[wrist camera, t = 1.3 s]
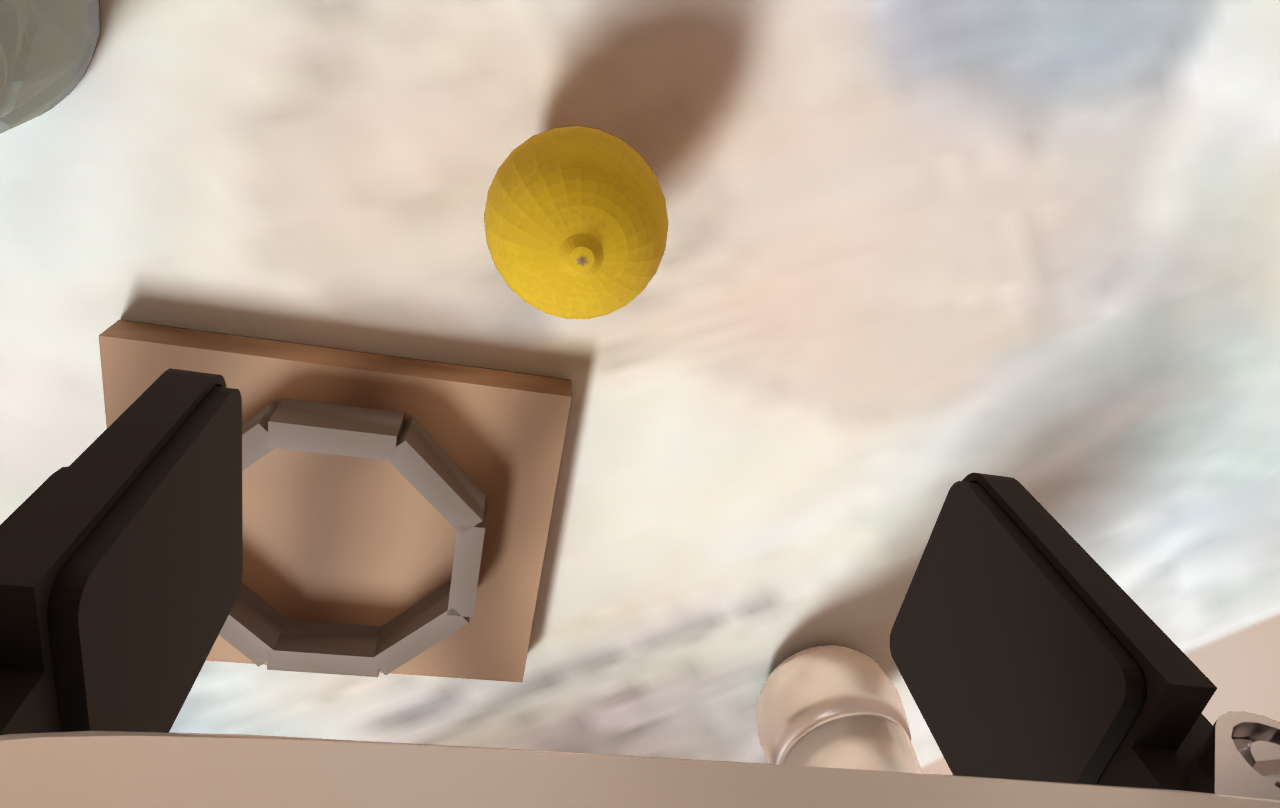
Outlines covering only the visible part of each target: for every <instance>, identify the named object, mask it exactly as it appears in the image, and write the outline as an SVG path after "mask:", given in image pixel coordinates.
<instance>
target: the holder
mask: <svg viewBox="0 0 1280 808" xmlns="http://www.w3.org/2000/svg"><path fill="white" fill-rule="evenodd" d="M99 344H100V355H101V367H102V378H103V390H104V401H105V412H106V424H107V428H108V427H109V426H110V425H111V424H112V423H113V422H114V421H115V420H116V419H117V418H118V417H119V416H120V415H121V414H122V413H123V412H124V411H125V410H126V409H127V408H128V407H129V406H130V405H131V404H132V403H133V402H135V401H136V400H137V399H138V398H139V397H140V396H141V395H142V394H143V393H144V392H145V391H146V390H147V389H148V388H149V387H150V386H151V385H152V384H153V383H154V382H155V381H156V380H157V379H158V378H159V377H160V376H161V375H162V374H163V373H164V372H165V371H166V370H168V369H169V368H172V369H179V370H187V371H195V372H202V373H210V374H218V375H222V376H223V377H224V379H225V382H226V387H227V388H234V389H239V391H240V393H241V397H242V539H243V571H242V581H241V586H240V590H239V593H238V597H237V599H236V601H235V604H234V606H233V608H232V610H231V611H230V613H229V615H228V617H227V619H226V621H225V623H224V625H223V627H222V629H221V631H220V633H219V635H218V637H217V639H216V641H215V643H214V645H213V647H212V649H211V651H210V653H209V655H208V657H207V659H206V660H208V661H222V662H236V663H251V664H256V665H258V666H260V665H262V664H265V665H267V670H282V671H297V672H311V673H326V674H340V675H355V676H370V677H378V675H379V672H380V673H384V674H385V675H387V674H389V673H395V674H409V675H424V676H438V677H452V678H467V679H481V680H496V681H510V682H522V681H523V675H524V669H525V664H526V658H527V652H528V646H529V641H530V635H531V629H532V623H533V618H534V612H535V606H536V600H537V594H538V589H539V583H540V577H541V571H542V566H543V560H544V554H545V548H546V543H547V537H548V531H549V525H550V520H551V514H552V508H553V502H554V497H555V491H556V485H557V479H558V474H559V468H560V462H561V456H562V451H563V445H564V439H565V433H566V427H567V422H568V416H569V410H570V404H571V399H572V392H571V380H567V379H559V378H552V377H544V376H537V375H529V374H522V373H514V372H507V371H499V370H492V369H484V368H477V367H469V366H462V365H454V364H447V363H439V362H432V361H424V360H417V359H409V358H401V357H394V356H386V355H379V354H371V353H364V352H356V351H349V350H341V349H334V348H326V347H319V346H311V345H304V344H296V343H289V342H281V341H274V340H266V339H259V338H251V337H244V336H236V335H229V334H221V333H214V332H206V331H199V330H191V329H183V328H176V327H168V326H161V325H153V324H146V323H138V322H131V321H123V320H118V321H117V322H116V323H115V324H113V325H112V326H111V327H109V328H108V329H107V330H105V331H104V332H103V333H102V334H100V335H99Z"/></svg>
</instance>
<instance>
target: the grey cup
mask: <svg viewBox="0 0 1280 808" xmlns="http://www.w3.org/2000/svg"><path fill="white" fill-rule="evenodd" d="M99 36H100V15H99V0H0V133H2V132H5V131H7V130H9V129H11V128H13V127H16V126H18V125H20V124H22V123H24V122H26V121H29V120H31V119H33V118H35V117H37V116H40V115H42V114H43V113H45V112H47V111H49V110H50V109H52V108H53V107H54V106H56V105H57V104H58V103H59V102H61V101H62V100H63V99H64V98H65V97H66V96H67V95H68V94H69V93H70V92H71V91H72V90H73V89H74V87H75V86H76V85H77V84H78V82H79V81H80V80H81V79H82V77H83V75H84V73H85V71H86V69H87V68H88V66H89V64H90V62H91V59H92V56H93V53H94V50H95V47H96V44H97V41H98V39H99Z"/></svg>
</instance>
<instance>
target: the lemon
mask: <svg viewBox="0 0 1280 808" xmlns="http://www.w3.org/2000/svg"><path fill="white" fill-rule="evenodd" d="M484 222H485V231H486V241H487V245H488V248H489V250H490V253H491V256H492V259H493V261H494V264H495V266H496V268H497V270H498V271H499V273H500V274H501V276H502V277H503V279H504V280H505V281H506V283H507V284H508V286H509V287H510V288H511V289H512V290H513V291H514V292H515V293H516V294H517V295H519V296H520V297H521V298H522V299H523V300H524V301H525V302H527V303H528V304H530V305H532V306H534V307H536V308H537V309H539V310H541V311H543V312H545V313H547V314H551V315H555V316H558V317H562V318H566V319H590V318H594V317H598V316H602V315H607V314H609V313H611V312H613V311H615V310H617V309H619V308H621V307H623V306H625V305H627V304H628V303H629V302H630V301H632V300H633V299H634V298H635V297H636V296H637V295H639V294H640V293H641V292H642V291H643V290H644V289H645V287H646V286H647V284H648V283H649V282H650V280H651V279H652V277H653V276H654V275H655V273H656V271H657V269H658V266H659V264H660V261H661V259H662V256H663V254H664V251H665V247H666V239H667V231H668V218H667V210H666V202H665V198H664V195H663V192H662V190H661V187H660V185H659V182H658V180H657V177H656V175H655V174H654V172H653V171H652V169H651V168H650V167H649V165H648V164H647V163H646V161H645V160H644V159H643V157H642V156H641V155H640V154H639V153H638V152H637V151H635V150H634V149H633V148H632V147H630V146H629V145H628V144H627V143H625V142H624V141H623V140H622V139H619V138H617V137H615V136H613V135H611V134H608V133H606V132H604V131H602V130H600V129H593V128H587V127H581V126H570V127H560V128H553V129H551V130H548V131H545V132H543V133H540V134H537V135H534V136H532V137H531V138H530V139H528V140H527V141H525V142H524V143H523V144H521V145H520V146H518V147H517V148H516V149H514V150H513V151H512V152H511V154H510V155H509V156H508V157H507V159H506V160H505V161H504V162H503V164H502V165H501V166H500V167H499V169H498V171H497V173H496V175H495V177H494V180H493V182H492V184H491V186H490V189H489V191H488V195H487V201H486V208H485V214H484Z"/></svg>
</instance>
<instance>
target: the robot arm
mask: <svg viewBox="0 0 1280 808" xmlns="http://www.w3.org/2000/svg"><path fill="white" fill-rule="evenodd" d="M242 571H243V539H242V397H241V393H240V391H239V389H234V388H227V387H226V382H225V379H224V377H223V376H222V375H218V374H210V373H202V372H195V371H187V370H179V369H172V368H169V369H168V370H166V371H165V372H164V373H163V374H162V375H161V376H160V377H159V378H158V379H157V380H156V381H155V382H154V383H153V384H152V385H151V386H150V387H149V388H148V389H147V390H146V391H145V392H144V393H143V394H142V395H141V396H140V397H139V398H138V399H137V400H136V401H135V402H133V403H132V404H131V405H130V406H129V407H128V408H127V409H126V410H125V411H124V412H123V413H122V414H121V415H120V416H119V417H118V418H117V419H116V420H115V421H114V422H113V423H112V424H111V425H110V426H109V427H108V428H107V429H106V430H105V431H104V432H103V433H102V434H101V435H100V436H99V437H98V438H97V439H96V440H95V441H94V442H93V443H92V444H91V445H90V446H89V447H88V448H87V449H86V450H85V451H84V452H83V453H82V454H81V455H80V456H79V457H78V458H77V459H76V460H75V461H74V462H73V463H72V464H71V465H70V466H69V467H62V468H61V469H59V470H58V471H56V472H55V473H54V474H52V475H51V476H50V477H49V478H48V479H47V480H46V481H45V482H44V483H43V484H42V485H41V486H40V487H39V488H38V489H37V490H36V491H35V492H34V493H33V494H32V495H31V496H30V497H29V498H28V499H27V500H26V501H25V502H24V503H23V504H21V505H20V506H19V507H18V508H17V509H16V510H15V511H14V512H13V513H12V514H11V515H10V516H9V517H8V518H7V519H6V520H5V521H4V522H3V523H2V524H1V525H0V808H1280V722H1277V721H1275V720H1272V719H1270V718H1267V717H1265V716H1261V715H1257V714H1252V713H1248V712H1228V713H1225V714H1223V715H1221V716H1219V717H1218V719H1217V721H1216V722H1215V723H1214V725H1213V726H1212V724H1211V723H1210V722H1209V721H1208V720H1207V719H1206V718H1205V717H1204V716H1203V715H1202V711H1203V709H1204V708H1205V706H1206V705H1207V703H1208V702H1209V700H1210V698H1211V697H1212V695H1213V694H1214V692H1215V691H1216V689H1217V687H1215V685H1214V684H1213V683H1212V682H1211V681H1210V680H1209V679H1208V678H1207V677H1206V676H1205V675H1204V674H1203V673H1202V672H1201V671H1200V670H1199V669H1198V668H1197V666H1195V664H1194V663H1193V662H1192V661H1191V660H1190V659H1189V658H1188V657H1187V656H1186V655H1185V654H1184V653H1183V652H1182V651H1181V650H1180V649H1179V648H1178V647H1177V646H1176V645H1175V644H1174V643H1173V642H1172V641H1171V639H1170V638H1169V637H1168V636H1167V635H1166V634H1165V633H1164V632H1163V631H1162V630H1161V629H1160V628H1159V627H1158V626H1157V625H1156V624H1155V623H1154V622H1153V621H1152V620H1151V619H1150V618H1149V617H1148V616H1147V615H1146V614H1145V612H1144V611H1143V610H1142V609H1141V608H1140V607H1139V606H1138V605H1137V604H1136V603H1135V602H1134V601H1133V600H1132V599H1131V598H1130V597H1129V596H1128V595H1127V594H1126V593H1125V592H1124V591H1123V590H1122V589H1121V588H1120V587H1119V585H1118V584H1117V583H1116V582H1115V581H1114V580H1113V579H1112V578H1111V577H1110V576H1109V575H1108V574H1107V573H1106V572H1105V571H1104V570H1103V569H1102V568H1101V567H1100V566H1099V565H1098V564H1097V563H1096V562H1095V561H1094V560H1093V558H1092V557H1091V556H1090V555H1089V554H1088V553H1087V552H1086V551H1085V550H1084V549H1083V548H1082V547H1081V546H1080V545H1079V544H1078V543H1077V542H1076V541H1075V540H1074V539H1073V538H1072V537H1071V536H1070V535H1069V534H1068V532H1067V531H1066V530H1065V529H1064V528H1063V527H1062V526H1061V525H1060V524H1059V523H1058V522H1057V521H1056V520H1055V519H1054V518H1053V517H1052V516H1051V515H1050V514H1049V513H1048V512H1047V511H1046V510H1045V509H1044V508H1043V507H1042V505H1041V504H1040V503H1039V502H1038V501H1037V500H1036V499H1035V498H1034V497H1033V496H1032V495H1031V494H1030V493H1029V492H1028V491H1027V490H1026V489H1025V488H1024V487H1023V486H1022V485H1021V484H1020V483H1019V482H1018V481H1017V480H1015V479H1014V478H1010V477H1003V476H995V475H987V474H979V473H971V474H969V475H967V476H966V477H965V478H964V479H963V480H962V481H958V482H956V483H954V484H953V486H952V487H951V488H950V490H949V492H948V495H947V497H946V499H945V502H944V504H943V507H942V509H941V512H940V514H939V516H938V519H937V521H936V524H935V526H934V529H933V531H932V533H931V536H930V538H929V541H928V543H927V545H926V548H925V550H924V553H923V555H922V558H921V560H920V562H919V565H918V567H917V570H916V572H915V575H914V577H913V579H912V582H911V584H910V587H909V589H908V592H907V594H906V596H905V599H904V601H903V604H902V606H901V608H900V611H899V613H898V616H897V618H896V621H895V623H894V625H893V628H892V631H891V634H890V650H891V655H892V657H893V660H894V662H895V664H896V666H897V667H898V669H899V671H900V673H901V675H902V677H903V679H904V681H905V683H906V685H907V687H908V689H909V691H910V693H911V694H912V696H913V698H914V700H915V702H916V704H917V706H918V708H919V710H920V712H921V714H922V716H923V718H924V719H925V721H926V723H927V725H928V727H929V729H930V731H931V733H932V735H933V737H934V739H935V741H936V743H937V745H938V746H939V748H940V750H941V752H942V754H943V756H944V758H945V760H946V762H947V764H948V766H949V768H950V770H951V771H952V773H953V775H938V774H922V773H906V772H891V771H875V770H858V769H842V768H826V767H810V766H793V765H777V764H760V763H743V762H725V761H708V760H691V759H673V758H656V757H639V756H621V755H604V754H587V753H571V752H554V751H537V750H518V749H499V748H481V747H463V746H444V745H426V744H408V743H389V742H371V741H353V740H335V739H316V738H298V737H280V736H262V735H241V734H201V733H169V731H170V729H171V727H172V725H173V723H174V721H175V719H176V717H177V715H178V713H179V711H180V710H181V708H182V706H183V704H184V702H185V700H186V698H187V696H188V694H189V692H190V690H191V688H192V686H193V684H194V682H195V680H196V678H197V676H198V674H199V672H200V670H201V668H202V666H203V664H204V662H205V660H206V659H207V657H208V655H209V653H210V651H211V649H212V647H213V645H214V643H215V641H216V639H217V637H218V635H219V633H220V631H221V629H222V627H223V625H224V623H225V621H226V619H227V617H228V615H229V613H230V611H231V610H232V608H233V606H234V604H235V601H236V599H237V597H238V593H239V590H240V586H241V581H242Z"/></svg>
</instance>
